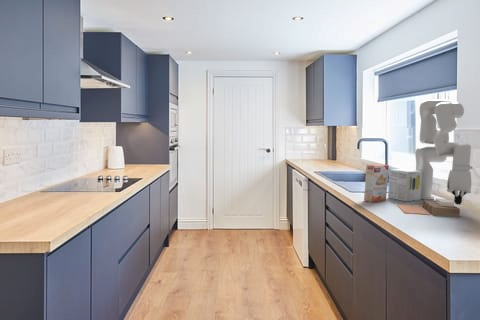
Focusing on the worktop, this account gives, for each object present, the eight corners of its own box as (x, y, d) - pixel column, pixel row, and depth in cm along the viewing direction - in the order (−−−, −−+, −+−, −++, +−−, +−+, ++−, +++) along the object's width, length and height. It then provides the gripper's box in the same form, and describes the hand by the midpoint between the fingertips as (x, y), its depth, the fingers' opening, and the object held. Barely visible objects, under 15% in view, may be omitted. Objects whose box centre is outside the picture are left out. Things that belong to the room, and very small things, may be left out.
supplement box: (405, 201, 225) (408, 171, 223) (387, 197, 236) (389, 169, 234) (420, 200, 231) (422, 170, 229) (402, 196, 242) (404, 168, 241)
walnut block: (422, 206, 210) (422, 199, 210) (446, 208, 208) (447, 201, 207) (432, 215, 191) (433, 207, 190) (459, 217, 188) (459, 208, 188)
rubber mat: (396, 205, 213) (396, 204, 213) (420, 206, 210) (420, 206, 210) (404, 213, 193) (404, 212, 193) (430, 214, 191) (430, 214, 191)
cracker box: (372, 202, 218) (374, 165, 216) (363, 200, 223) (365, 164, 221) (387, 200, 226) (389, 164, 224) (378, 198, 231) (380, 163, 229)
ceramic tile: (435, 202, 203) (436, 198, 203) (448, 203, 202) (448, 199, 202) (440, 205, 195) (441, 201, 194) (453, 206, 193) (454, 202, 193)
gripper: (474, 168, 198) (471, 203, 199) (442, 166, 201) (439, 201, 202) (480, 169, 190) (476, 206, 192) (446, 168, 193) (444, 204, 195)
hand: (457, 204), depth 197 cm, fingers closed
